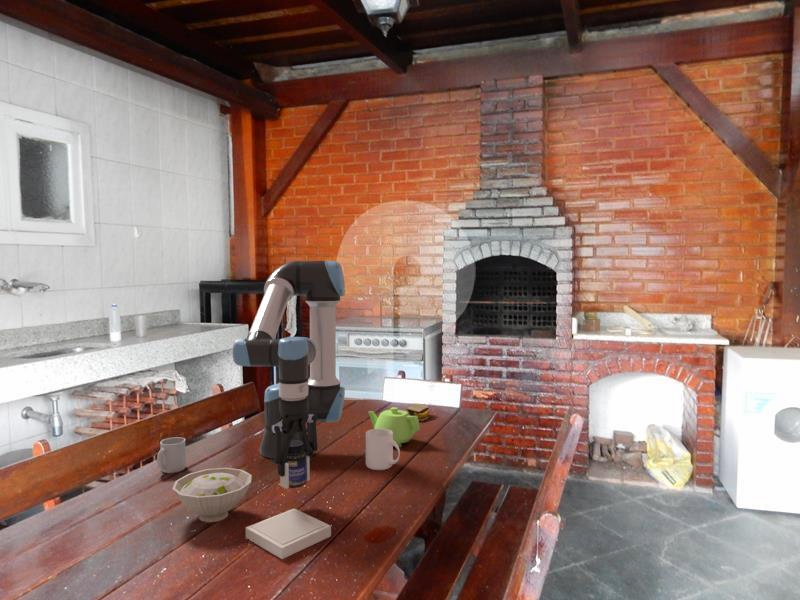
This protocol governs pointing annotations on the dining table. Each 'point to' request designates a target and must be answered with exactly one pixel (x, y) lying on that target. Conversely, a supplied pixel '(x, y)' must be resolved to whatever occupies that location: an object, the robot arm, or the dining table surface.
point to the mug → (380, 449)
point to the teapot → (396, 424)
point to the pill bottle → (296, 464)
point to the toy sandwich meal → (419, 411)
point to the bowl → (212, 491)
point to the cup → (172, 455)
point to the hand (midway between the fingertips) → (295, 482)
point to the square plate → (288, 533)
